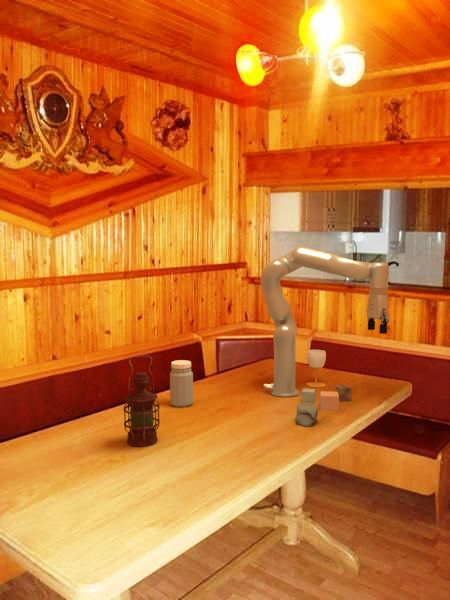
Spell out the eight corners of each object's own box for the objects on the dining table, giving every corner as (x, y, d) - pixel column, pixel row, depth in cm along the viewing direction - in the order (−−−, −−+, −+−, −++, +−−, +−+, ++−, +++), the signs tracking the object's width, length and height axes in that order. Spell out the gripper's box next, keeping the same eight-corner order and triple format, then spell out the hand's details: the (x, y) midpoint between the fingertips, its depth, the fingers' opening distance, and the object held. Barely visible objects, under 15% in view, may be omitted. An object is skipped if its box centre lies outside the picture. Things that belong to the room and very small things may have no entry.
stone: (289, 424, 210) (294, 398, 213) (297, 428, 217) (301, 403, 220) (312, 428, 205) (317, 401, 208) (319, 432, 213) (323, 406, 216)
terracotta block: (321, 410, 227) (321, 396, 226) (319, 405, 234) (320, 391, 233) (338, 411, 226) (339, 396, 225) (337, 405, 233) (337, 391, 232)
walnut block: (340, 402, 238) (340, 388, 237) (335, 398, 243) (335, 385, 242) (351, 401, 239) (351, 387, 239) (345, 398, 244) (346, 384, 243)
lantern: (126, 449, 185) (123, 360, 182) (122, 437, 197) (120, 353, 194) (162, 446, 189) (161, 358, 185) (157, 433, 200) (155, 350, 197)
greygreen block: (301, 403, 237) (301, 391, 236) (303, 399, 242) (303, 388, 241) (313, 404, 236) (313, 392, 235) (315, 400, 240) (315, 389, 240)
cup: (302, 383, 268) (303, 350, 266) (318, 381, 272) (319, 348, 270) (313, 388, 260) (313, 354, 258) (329, 386, 264) (330, 352, 262)
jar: (182, 409, 229) (182, 365, 227) (165, 405, 235) (164, 362, 233) (198, 403, 237) (197, 361, 235) (180, 399, 242) (180, 358, 241)
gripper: (360, 290, 245) (359, 328, 247) (381, 293, 229) (379, 335, 231) (375, 289, 247) (374, 328, 249) (397, 293, 231) (396, 334, 233)
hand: (377, 331), depth 240 cm, fingers open, 9 cm apart
